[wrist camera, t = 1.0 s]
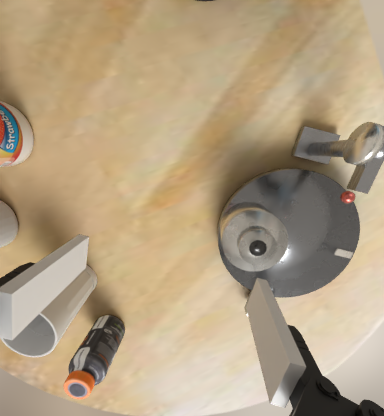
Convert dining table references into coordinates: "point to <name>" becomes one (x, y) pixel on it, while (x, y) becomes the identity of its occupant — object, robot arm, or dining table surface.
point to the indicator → (346, 153)
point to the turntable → (300, 230)
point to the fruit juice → (14, 136)
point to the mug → (7, 224)
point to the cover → (252, 237)
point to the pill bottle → (94, 356)
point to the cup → (54, 318)
